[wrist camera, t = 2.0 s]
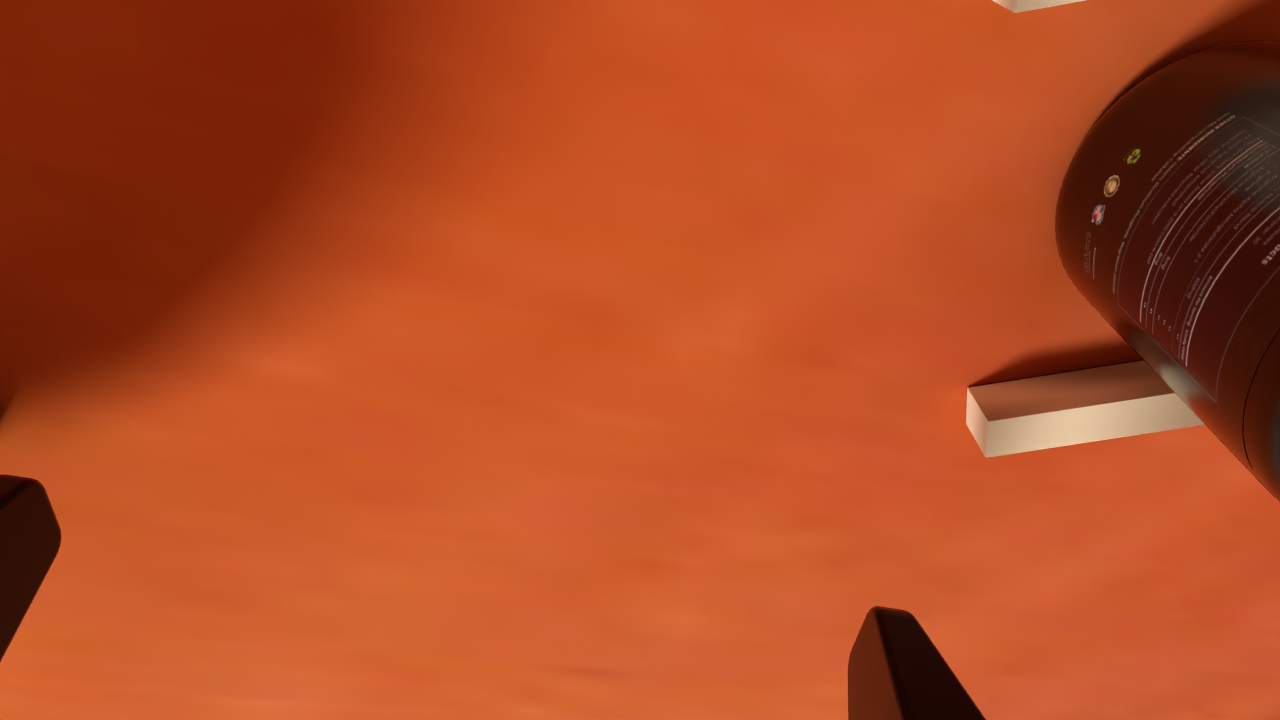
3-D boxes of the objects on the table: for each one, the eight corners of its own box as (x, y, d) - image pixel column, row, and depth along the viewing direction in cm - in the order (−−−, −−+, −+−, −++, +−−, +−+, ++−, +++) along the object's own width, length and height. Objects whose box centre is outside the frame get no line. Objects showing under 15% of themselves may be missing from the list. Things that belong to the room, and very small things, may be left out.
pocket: (965, 422, 24) (986, 457, 23) (989, -67, 17) (1019, -55, 16) (1386, 358, 23) (1431, 390, 22) (1581, -177, 17) (1661, -174, 15)
